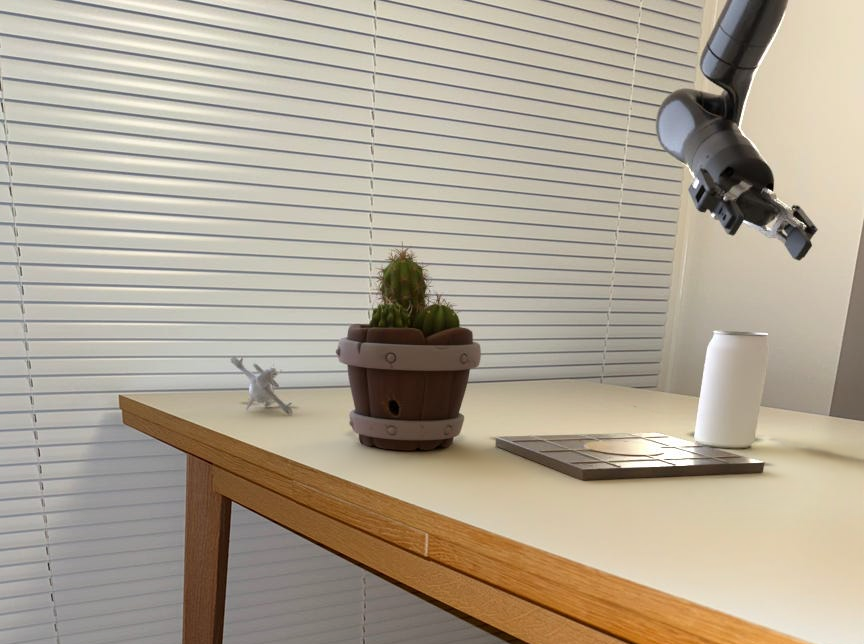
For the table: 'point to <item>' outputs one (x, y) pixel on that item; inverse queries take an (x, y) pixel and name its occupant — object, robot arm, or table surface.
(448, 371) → the flowerpot
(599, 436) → the board
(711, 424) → the can
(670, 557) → the table surface
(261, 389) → the spiky grey figurine
